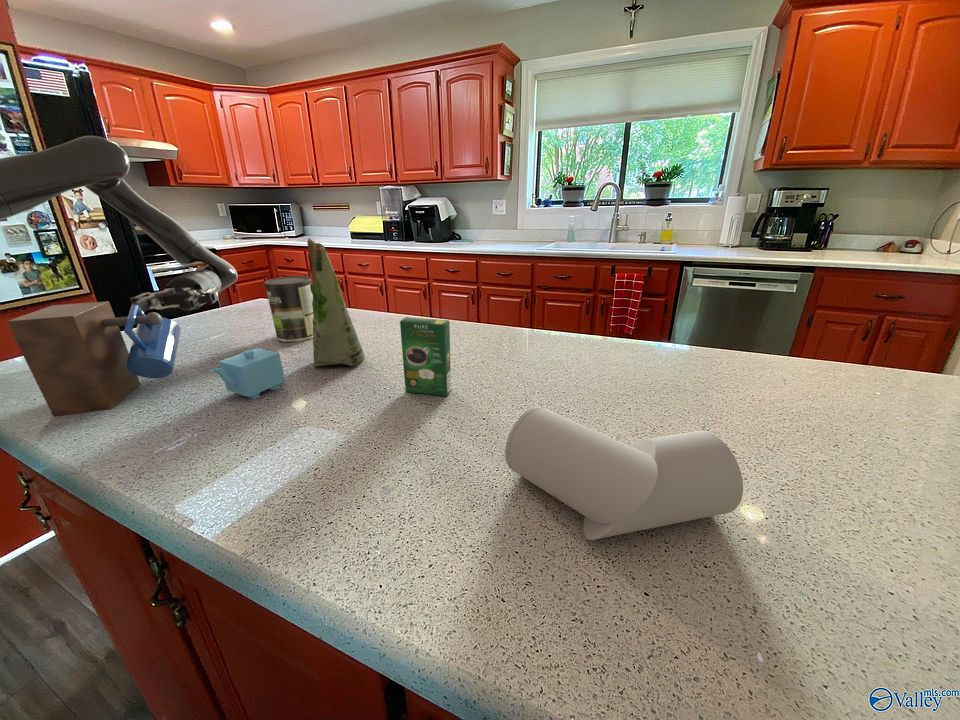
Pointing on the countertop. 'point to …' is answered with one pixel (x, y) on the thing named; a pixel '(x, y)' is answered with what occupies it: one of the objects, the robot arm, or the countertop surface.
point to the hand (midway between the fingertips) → (162, 306)
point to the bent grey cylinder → (624, 473)
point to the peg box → (78, 355)
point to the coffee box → (426, 355)
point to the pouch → (330, 314)
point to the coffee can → (291, 307)
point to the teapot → (251, 372)
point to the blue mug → (152, 346)
